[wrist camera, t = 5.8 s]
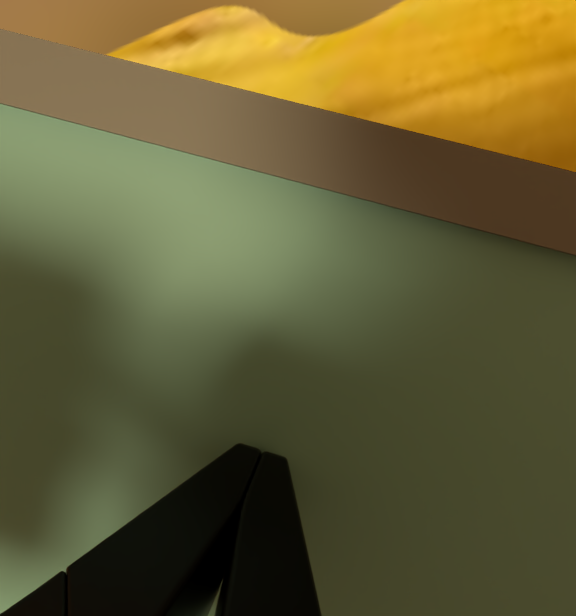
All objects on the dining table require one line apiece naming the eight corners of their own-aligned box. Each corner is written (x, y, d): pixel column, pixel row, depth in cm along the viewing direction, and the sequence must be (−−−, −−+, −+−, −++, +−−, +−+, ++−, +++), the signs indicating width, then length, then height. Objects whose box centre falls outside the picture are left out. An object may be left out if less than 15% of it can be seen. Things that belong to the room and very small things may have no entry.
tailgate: (575, 918, 8) (929, 260, 6) (-170, 631, 10) (-119, 0, 7) (537, 796, 10) (799, 251, 8) (-88, 568, 11) (-25, 42, 9)
